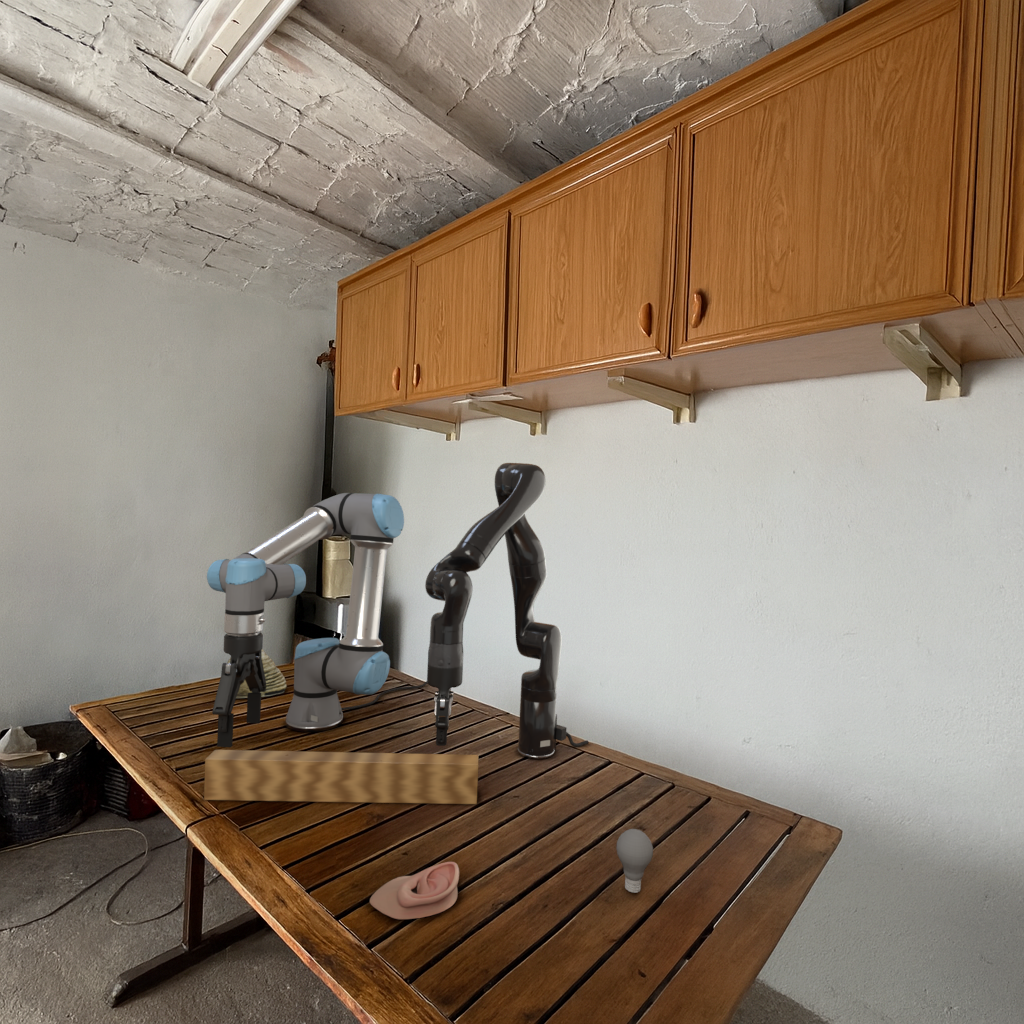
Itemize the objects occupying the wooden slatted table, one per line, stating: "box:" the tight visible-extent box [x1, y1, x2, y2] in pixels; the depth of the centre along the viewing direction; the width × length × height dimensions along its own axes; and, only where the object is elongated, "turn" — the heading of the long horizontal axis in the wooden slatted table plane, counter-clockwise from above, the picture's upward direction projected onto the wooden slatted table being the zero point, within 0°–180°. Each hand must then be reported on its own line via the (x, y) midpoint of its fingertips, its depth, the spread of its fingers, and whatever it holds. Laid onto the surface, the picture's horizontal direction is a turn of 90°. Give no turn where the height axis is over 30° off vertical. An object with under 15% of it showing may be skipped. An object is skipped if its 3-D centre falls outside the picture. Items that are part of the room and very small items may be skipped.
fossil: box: [226, 648, 288, 699], centre depth 198 cm, size 9×18×15 cm, turn 132°
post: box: [203, 749, 479, 805], centre depth 134 cm, size 56×5×8 cm, turn 93°
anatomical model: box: [369, 861, 460, 920], centre depth 101 cm, size 13×4×12 cm
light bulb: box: [615, 828, 654, 894], centre depth 106 cm, size 6×6×10 cm
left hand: (239, 734), depth 132 cm, fingers open, 13 cm apart
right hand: (442, 737), depth 135 cm, fingers open, 8 cm apart
